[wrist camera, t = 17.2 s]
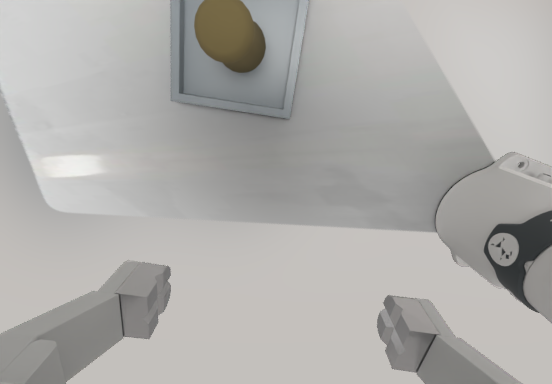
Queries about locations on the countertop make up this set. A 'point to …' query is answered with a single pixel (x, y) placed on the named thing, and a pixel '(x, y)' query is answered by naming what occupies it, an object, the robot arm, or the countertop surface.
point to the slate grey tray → (232, 85)
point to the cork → (229, 34)
